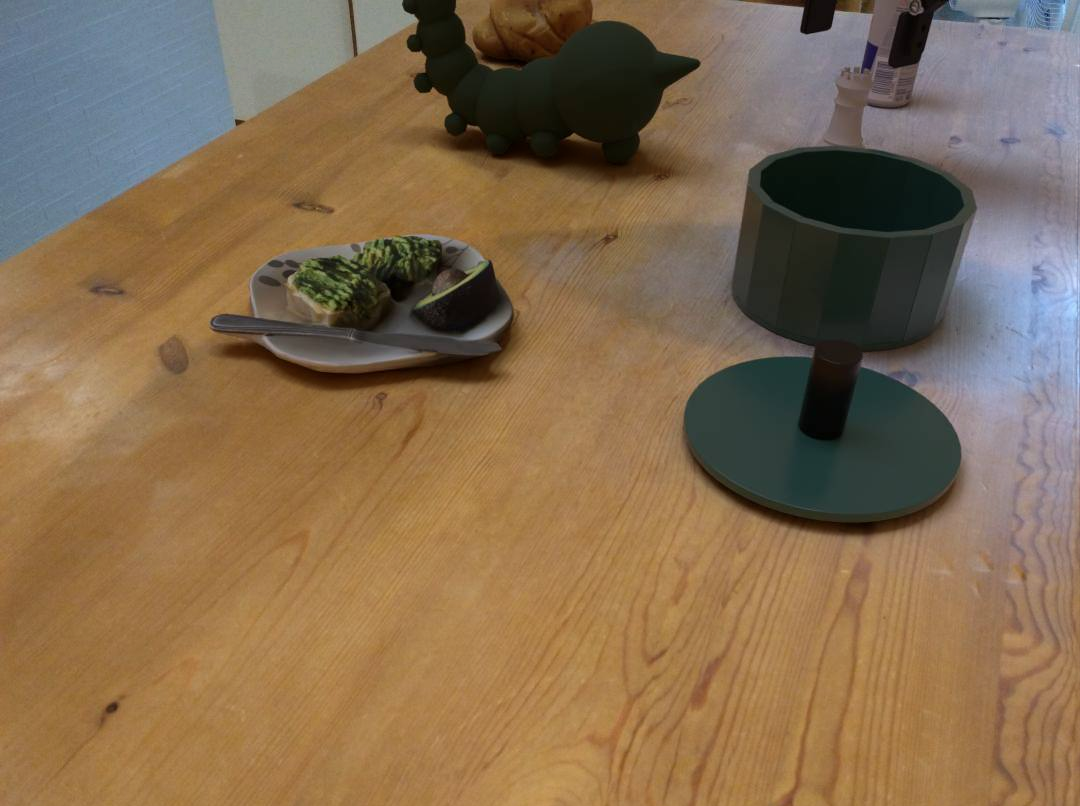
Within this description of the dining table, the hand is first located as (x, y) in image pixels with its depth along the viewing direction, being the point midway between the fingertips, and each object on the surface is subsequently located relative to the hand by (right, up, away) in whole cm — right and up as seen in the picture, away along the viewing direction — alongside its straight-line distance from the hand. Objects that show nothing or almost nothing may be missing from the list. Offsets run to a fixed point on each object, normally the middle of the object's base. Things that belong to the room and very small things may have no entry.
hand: (857, 47), depth 87 cm
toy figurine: (-25, -6, +7) cm, 27 cm away
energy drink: (+8, +4, +20) cm, 22 cm away
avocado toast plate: (-36, -26, -16) cm, 47 cm away
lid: (-10, -34, -26) cm, 44 cm away
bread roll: (-27, +12, +28) cm, 40 cm away
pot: (-5, -23, -12) cm, 27 cm away
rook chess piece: (0, -8, +6) cm, 10 cm away
